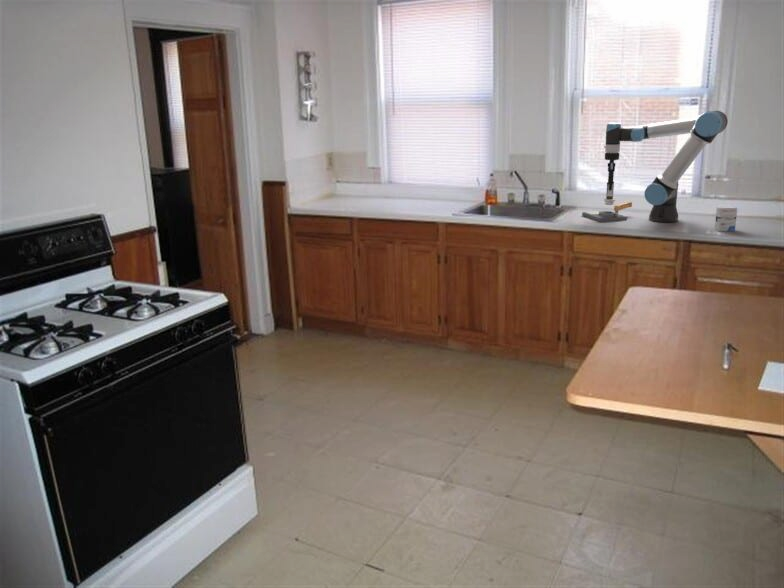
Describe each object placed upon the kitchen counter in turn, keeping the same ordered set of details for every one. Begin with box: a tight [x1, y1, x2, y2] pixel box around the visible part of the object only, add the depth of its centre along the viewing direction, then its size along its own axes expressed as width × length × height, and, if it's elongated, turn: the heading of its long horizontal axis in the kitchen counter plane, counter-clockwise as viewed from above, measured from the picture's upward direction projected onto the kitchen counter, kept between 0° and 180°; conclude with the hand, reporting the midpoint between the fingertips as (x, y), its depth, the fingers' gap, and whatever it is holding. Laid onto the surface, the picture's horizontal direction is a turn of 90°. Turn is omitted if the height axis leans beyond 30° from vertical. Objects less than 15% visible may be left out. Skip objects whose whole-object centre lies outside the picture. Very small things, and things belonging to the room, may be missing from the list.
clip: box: [613, 201, 633, 212], centre depth 394 cm, size 17×3×3 cm, turn 136°
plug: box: [603, 181, 616, 206], centre depth 389 cm, size 6×6×12 cm
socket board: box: [581, 210, 627, 223], centre depth 397 cm, size 20×16×5 cm
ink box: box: [714, 206, 738, 232], centre depth 358 cm, size 8×5×12 cm, turn 92°
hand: (609, 195), depth 390 cm, fingers closed on plug, 3 cm apart
